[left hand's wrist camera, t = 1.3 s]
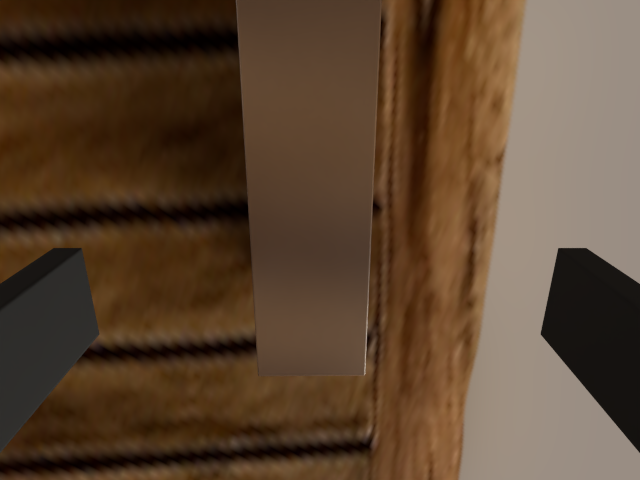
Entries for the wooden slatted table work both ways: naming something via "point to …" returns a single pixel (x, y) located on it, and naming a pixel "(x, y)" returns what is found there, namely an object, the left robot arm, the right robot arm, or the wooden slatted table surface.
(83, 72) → the wooden slatted table surface
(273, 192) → the bar
